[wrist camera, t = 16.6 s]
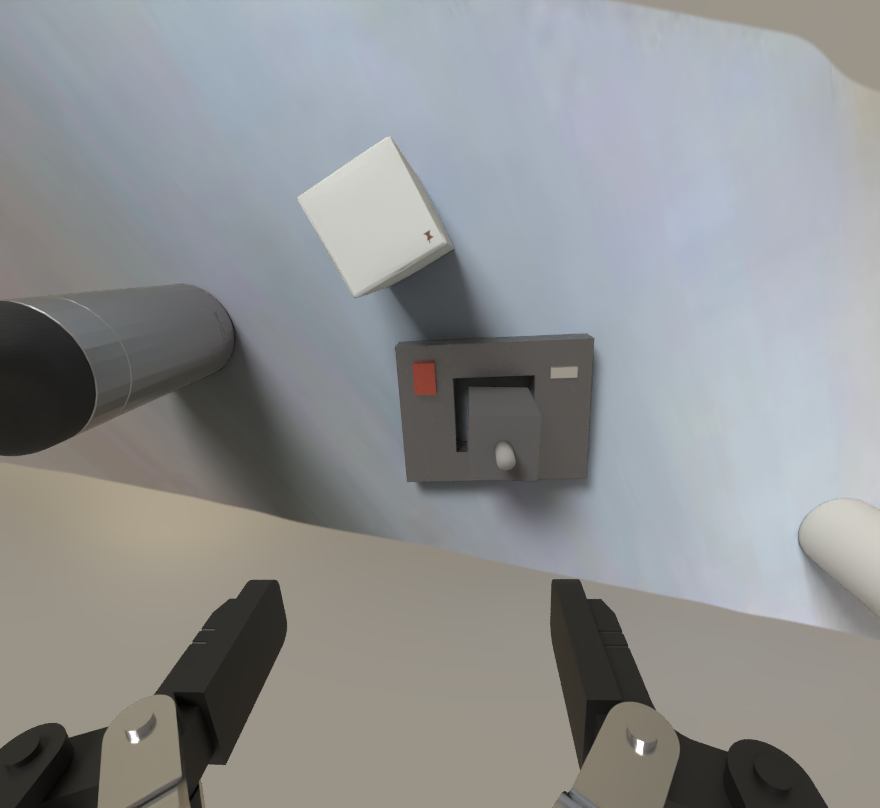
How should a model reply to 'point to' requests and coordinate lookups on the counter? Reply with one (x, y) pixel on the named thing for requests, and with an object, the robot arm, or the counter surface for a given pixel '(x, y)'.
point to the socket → (543, 357)
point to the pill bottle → (846, 546)
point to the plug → (503, 434)
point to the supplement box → (376, 220)
